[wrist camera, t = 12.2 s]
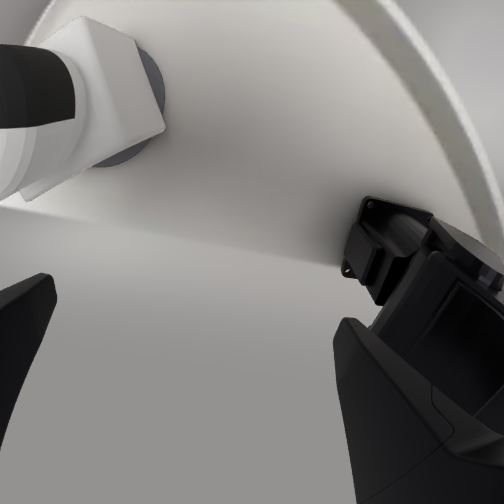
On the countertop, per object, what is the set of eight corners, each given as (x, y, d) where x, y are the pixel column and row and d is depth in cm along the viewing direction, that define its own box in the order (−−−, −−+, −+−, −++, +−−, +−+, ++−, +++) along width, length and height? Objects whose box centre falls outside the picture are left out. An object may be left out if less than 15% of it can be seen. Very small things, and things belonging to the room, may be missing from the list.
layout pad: (174, 40, 15) (173, 39, 15) (157, 171, 19) (155, 172, 19) (59, 47, 14) (56, 47, 14) (49, 163, 18) (47, 164, 18)
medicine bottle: (50, 87, 15) (-82, 106, 5) (134, 36, 15) (15, -13, 4) (82, 171, 19) (-37, 248, 8) (168, 129, 18) (69, 173, 7)
